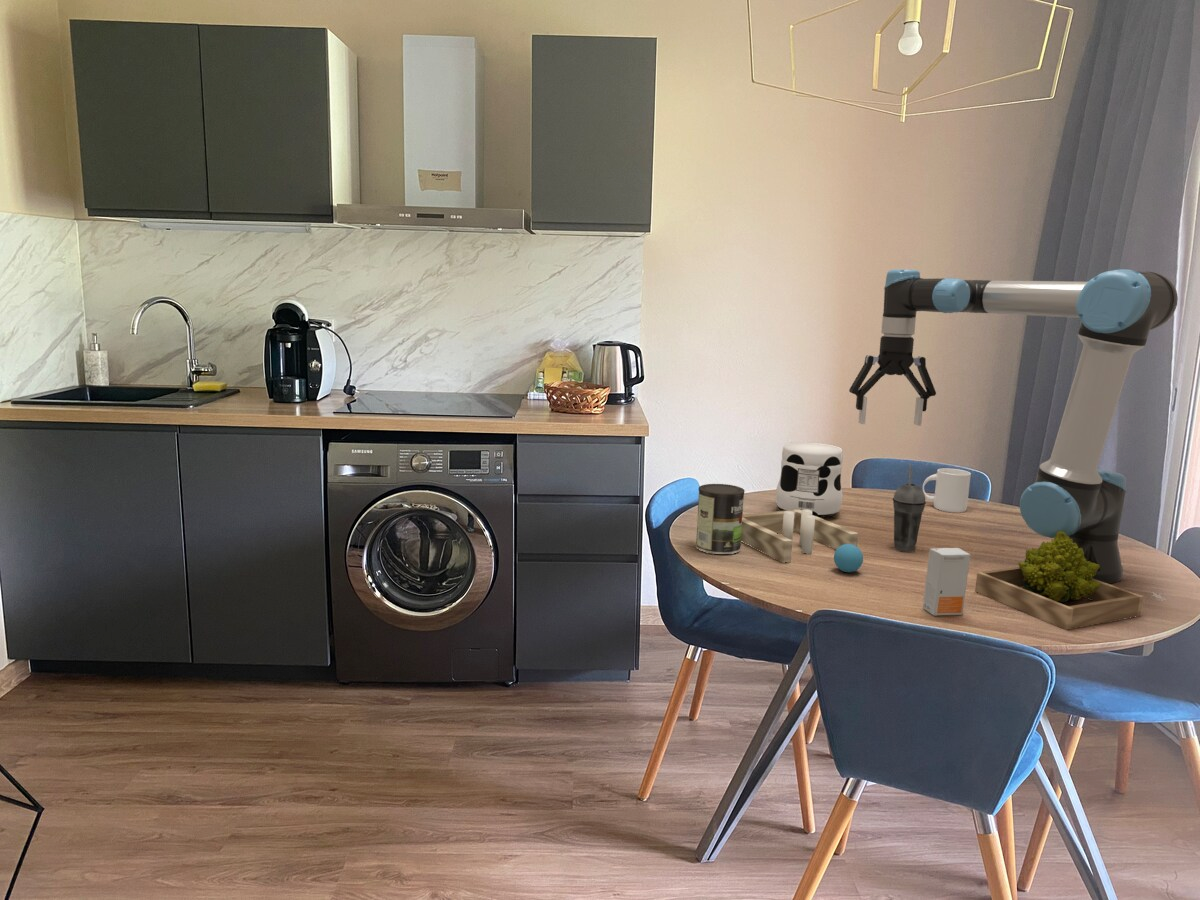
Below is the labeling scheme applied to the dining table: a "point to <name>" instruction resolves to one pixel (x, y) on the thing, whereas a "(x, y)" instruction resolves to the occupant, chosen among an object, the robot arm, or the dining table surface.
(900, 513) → the beverage cup
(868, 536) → the dining table surface
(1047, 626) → the dining table surface
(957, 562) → the skincare box
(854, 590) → the dining table surface
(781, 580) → the dining table surface
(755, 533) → the bumper
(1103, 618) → the crate
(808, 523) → the pin front
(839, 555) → the ball
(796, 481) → the milk container
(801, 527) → the pin back right
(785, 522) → the pin back left
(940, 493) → the mug
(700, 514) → the coffee can
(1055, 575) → the vegetable
